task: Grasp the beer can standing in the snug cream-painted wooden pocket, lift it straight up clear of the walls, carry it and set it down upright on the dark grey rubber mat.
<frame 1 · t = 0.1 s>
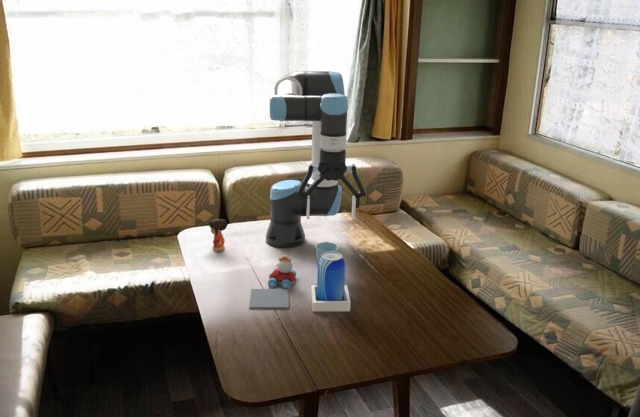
hand: (330, 217, 185), 28 cm above the table, fingers open, 13 cm apart
pocket: (330, 302, 194), on the table
figurine: (218, 249, 231), on the table
cup: (326, 274, 213), on the table
beer can: (330, 302, 194), resting in pocket
toy car: (282, 283, 206), on the table
mat: (269, 299, 195), on the table
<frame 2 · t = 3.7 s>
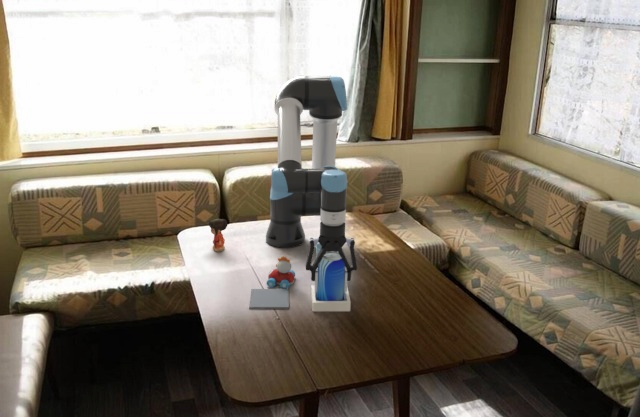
hand: (330, 289, 193), 4 cm above the table, fingers closed on beer can, 8 cm apart
beer can: (330, 302, 194), resting in pocket, touching gripper
everything else where it was.
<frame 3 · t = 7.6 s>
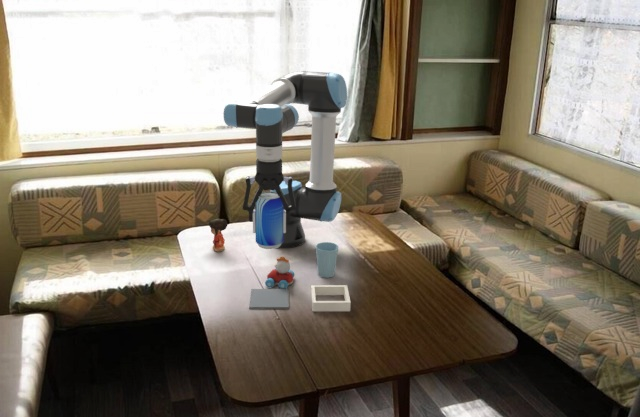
hand: (269, 231, 187), 23 cm above the table, fingers closed on beer can, 8 cm apart
beer can: (269, 245, 189), point 19 cm above the table, touching gripper
everything else where it was.
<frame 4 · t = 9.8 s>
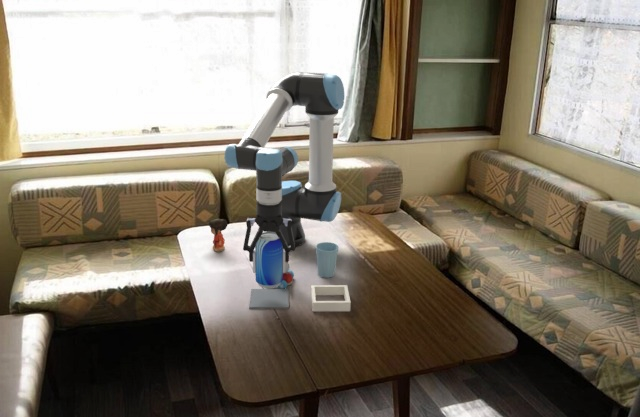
hand: (269, 270, 191), 10 cm above the table, fingers closed on beer can, 8 cm apart
beer can: (269, 284, 193), point 5 cm above the table, touching gripper
everything else where it was.
when the fingers open (6 cm above the table, at t = 11.5 s): beer can drops 1 cm, resting on mat.
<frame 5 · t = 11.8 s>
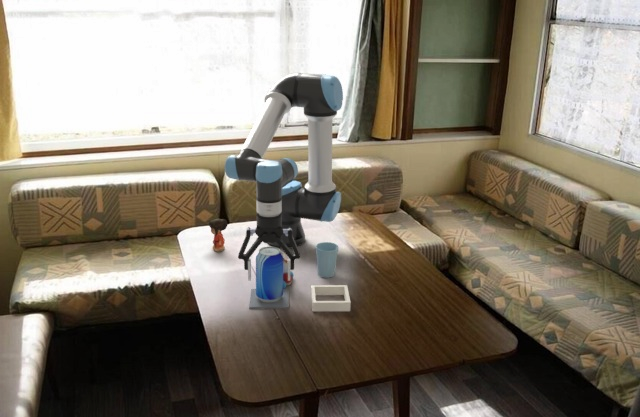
hand: (269, 278, 192), 7 cm above the table, fingers open, 11 cm apart
beer can: (269, 298, 195), resting on mat
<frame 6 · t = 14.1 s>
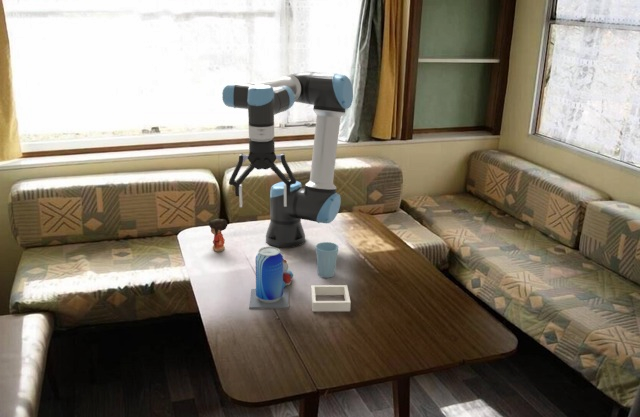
hand: (263, 205, 191), 29 cm above the table, fingers open, 13 cm apart
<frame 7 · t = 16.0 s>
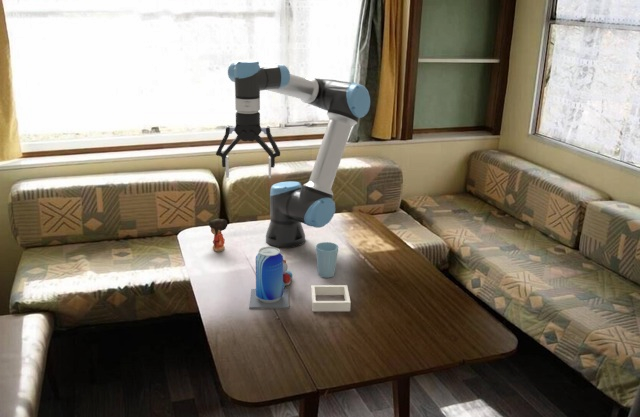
hand: (248, 176, 200), 35 cm above the table, fingers open, 13 cm apart
at the end: beer can inside the target area on the mat (0.0 cm from its centre), point 0.4 cm above the mat's base; beer can tilted 0°; the gripper is holding nothing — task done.
